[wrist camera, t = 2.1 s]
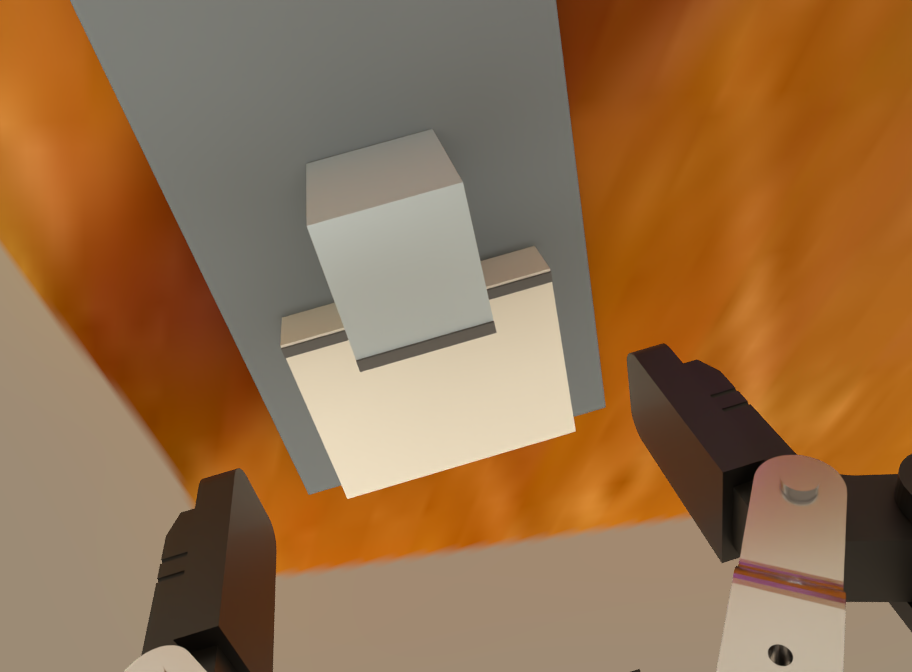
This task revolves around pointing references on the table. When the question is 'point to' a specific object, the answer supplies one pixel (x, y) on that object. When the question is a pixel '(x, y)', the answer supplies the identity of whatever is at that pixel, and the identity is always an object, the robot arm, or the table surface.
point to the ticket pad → (347, 129)
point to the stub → (398, 249)
